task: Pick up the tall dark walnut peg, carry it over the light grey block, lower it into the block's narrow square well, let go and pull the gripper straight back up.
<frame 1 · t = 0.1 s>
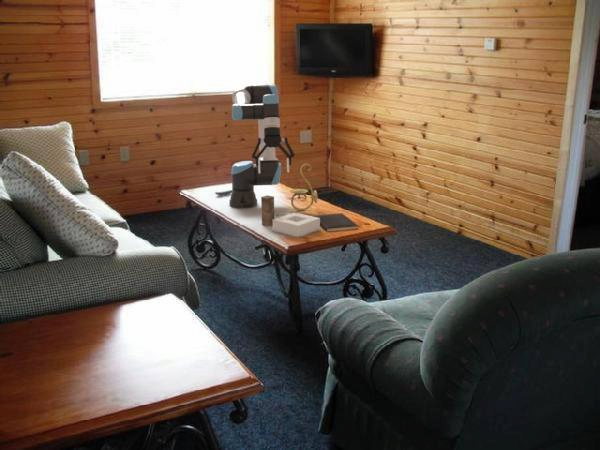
hand: (273, 172, 330), 28 cm above the table, tool tilted 20°, fingers open, 13 cm apart
grey well block: (296, 230, 335), on the table
hardcover book: (334, 225, 347), on the table
walnut peg: (268, 224, 346), on the table
wall sconce: (303, 210, 371), on the table
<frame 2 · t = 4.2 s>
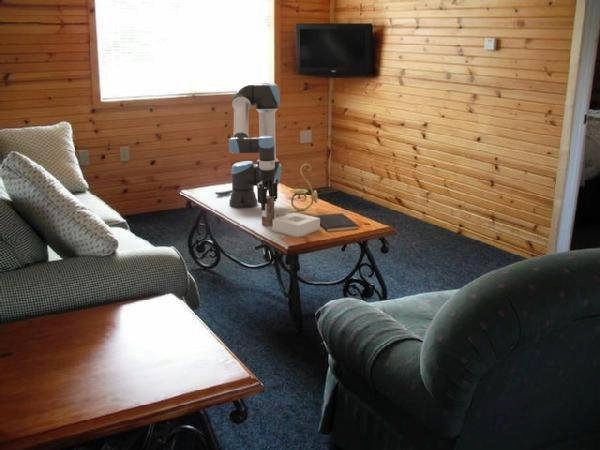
hand: (268, 215, 345), 5 cm above the table, tool pointing down, fingers closed on walnut peg, 4 cm apart
walnut peg: (268, 224, 346), on the table, touching gripper
everything else where it was.
when the fingers open (8 cm above the table, at t = 11.3 s): walnut peg drops 3 cm, resting on grey well block.
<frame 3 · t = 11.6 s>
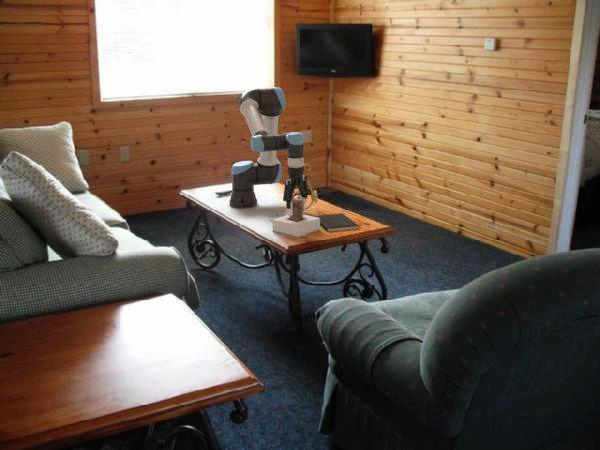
hand: (296, 212, 333), 9 cm above the table, tool pointing down, fingers open, 9 cm apart
walnut peg: (296, 229, 335), point 1 cm above the table, touching grey well block
everything else where it was.
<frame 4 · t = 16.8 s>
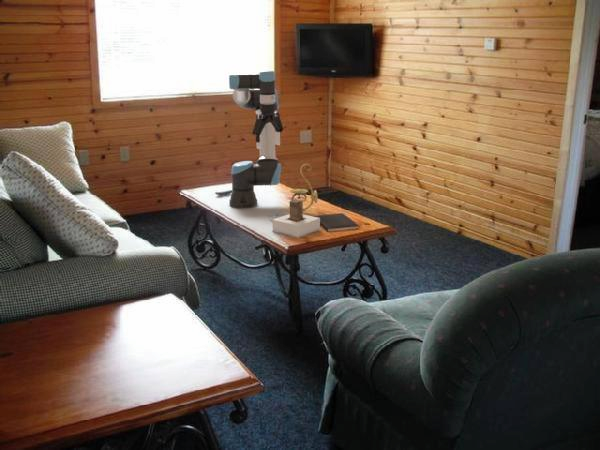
hand: (268, 146, 345), 37 cm above the table, tool pointing down, fingers open, 13 cm apart
nothing on the table moved.
at the end: walnut peg 0.0 cm off-centre on the grey well block, point 0.8 cm above the grey well block's base; walnut peg tilted 0°; the gripper is holding nothing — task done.
